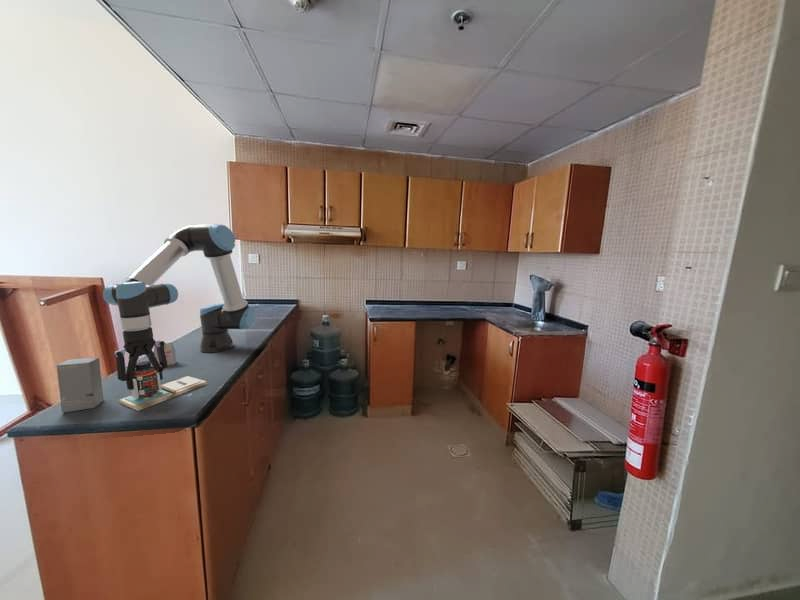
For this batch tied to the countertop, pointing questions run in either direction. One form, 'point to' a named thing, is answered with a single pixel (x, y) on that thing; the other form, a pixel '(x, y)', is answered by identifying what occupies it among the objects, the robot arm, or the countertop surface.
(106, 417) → the countertop surface
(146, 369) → the supplement bottle
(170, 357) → the white product box
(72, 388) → the skincare box
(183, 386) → the cream pad
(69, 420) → the countertop surface
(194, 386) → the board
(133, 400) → the teal pad
